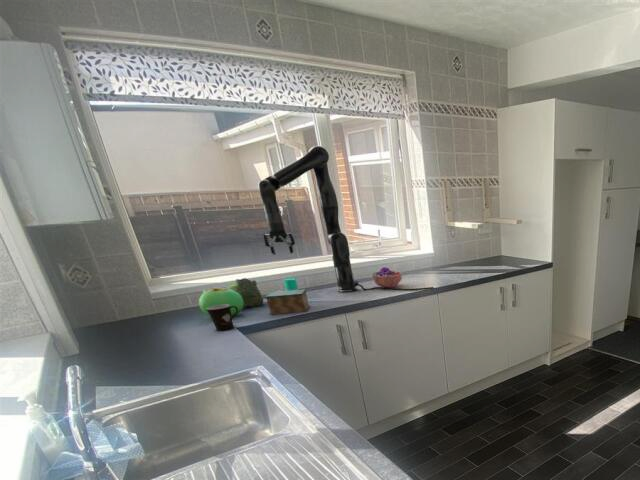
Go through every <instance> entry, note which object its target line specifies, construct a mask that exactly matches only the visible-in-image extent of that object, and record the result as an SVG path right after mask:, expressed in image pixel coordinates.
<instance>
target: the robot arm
mask: <svg viewBox="0 0 640 480" xmlns="http://www.w3.org/2000/svg"><path fill="white" fill-rule="evenodd" d="M329 160H330V154H329V151H328V150H327V149H326V148H325V147H323V146H321V145H314V146H312V147H310V149H309V150H308V152H307V153H306V154H305V155H303V156H302V157H300V158H298V159H297V160H295V161H293V162H291V163H289V164H287V165H285V166H282V168H280V169H278V170H276V171H275V172H274V173H273V174H271V175H269V176H267V177H265V178H263V179H262V180H260V181H258V183H257V189H258V191H259V193H260V198H261V201H262V206H263V210H264V216H265V221H266V224H267V228H268V233H269V234H268V233H265V234H263V239H264V244H265V245H264V246H265V247H267V248H270V252H271V254H272V255H276V250H275V244H276V243H285V244H286V245H287V246H288V250H289V253H290V254H293V253H294V248H293V246H295V245H296V241H295V238H294V237H295V236H294V234H293V233H292V232H288V233H287V232H286V229H285V225H284V220H283V217H282V214H281V210H280V206H279V204H278V200H277V194H276V191H278V190H280V189H281V188H282V187H286V186H287V185H289V184H290V183H292V182H294V181H296V180H297V179H298V178H300V177H301V176H303V175H304V174H306V173H308V172H310V171H311V170H312V171H313V174H314V178H315V187H316V192H317V197H318V201H319V205H320V209H321V213H322V217H323V220H324V224H325V230H326V239H327V243H328V244H329V246H330V247H331V252H332V262H333V268H334V272H335V277H336V281H337V289H338V291H339V293H348V292H355V291H356V290H357V287H358V286H359V287H361V289H362V290H363V291H371V290H376V289H382V290H394V291H421V290H432V289H434V286H429V287H420V288H419V287H417V288H399V287H398V288H397V287H390V288H386V287H383V286H374V287H370V288H365V287H364V286H363V285H361V284H359V281H358V280H355V276H354V273H353V268H352V263H351V259H350V256H351V253H350V247H349V241H348V238H347V236H346V234H344V233H343V232H342V230H341V226H340V222H339V202H338V197H337V192H336V190H335V187H334V185H333V183H332V180H331V177H330V172H329V167H328V166H329V165H328V163H329ZM287 237H288V238H289V239H290V240H289V239H287ZM269 238H271V242H269Z"/></svg>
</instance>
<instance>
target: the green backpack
mask: <svg viewBox="0 0 640 480" xmlns="http://www.w3.org/2000/svg"><path fill="white" fill-rule="evenodd" d="M235 282H236V283H235V284H238V286H237V287H236V288H235V289H234V291H236V292H238V293H239V294H240V295H241V297H242V298H243V302H244V305H243V308H242V310H244V309H245V308H247V307H250V308H257V307H260V306H262V305H263V304H264V298H263V296H262V293H261V290H260V289H259V287H258V286H257V285H258V282H257V281H256V280H255V279H254V280H250V279H249V278H247V277H244V278H241V279H237V278H236V279H235Z"/></svg>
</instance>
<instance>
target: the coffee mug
mask: <svg viewBox="0 0 640 480" xmlns="http://www.w3.org/2000/svg"><path fill="white" fill-rule="evenodd" d="M232 307H234V308H236V313H235V315H233V316H231V311H230V309H231V308H232ZM206 309H207V311H208V313H209V315H210V316H209V315H208V316H209V317H210V319H211V321H212V323H213V325H214V327H215V329H216V331H217V332H226V331H230V330H233V329H234V322H233V320H234V319H235V317H236V316H237V314H238V313H237V312H238V309H237V307H235V306H231V307H230V305H228V304H222V305H214V306H210V307H208V308H206Z"/></svg>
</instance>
